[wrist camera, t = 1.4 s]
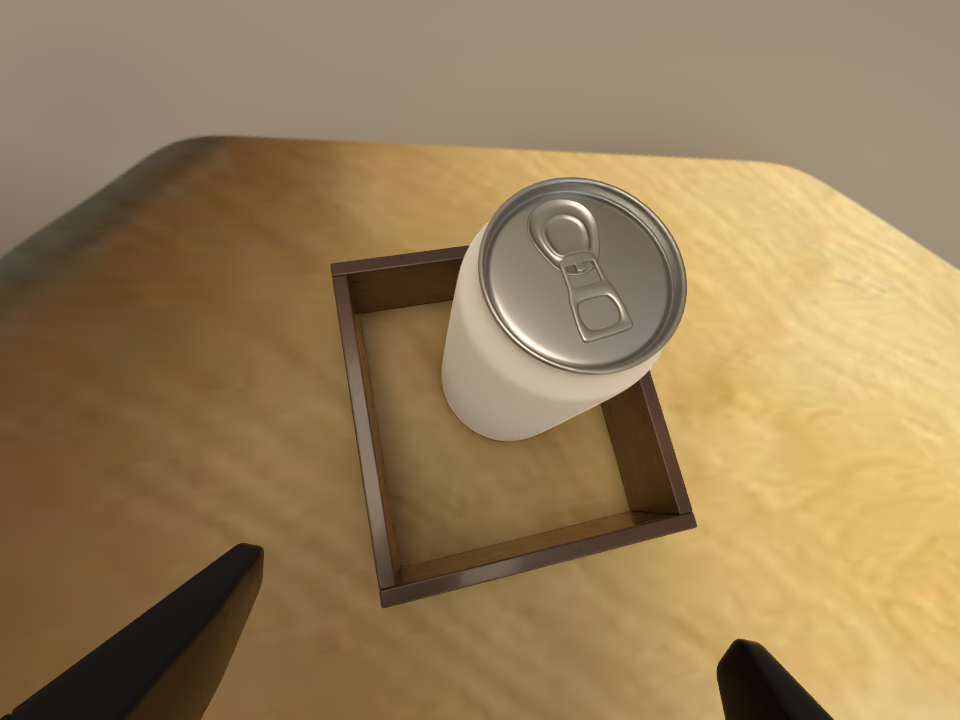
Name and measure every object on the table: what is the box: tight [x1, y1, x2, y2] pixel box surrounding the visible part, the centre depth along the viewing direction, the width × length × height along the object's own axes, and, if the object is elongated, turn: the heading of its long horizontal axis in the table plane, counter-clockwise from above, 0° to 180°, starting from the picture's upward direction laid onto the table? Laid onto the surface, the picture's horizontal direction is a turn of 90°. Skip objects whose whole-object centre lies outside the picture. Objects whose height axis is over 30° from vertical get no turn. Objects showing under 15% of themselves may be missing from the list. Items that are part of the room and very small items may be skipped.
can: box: [441, 177, 687, 441], centre depth 18 cm, size 6×6×12 cm
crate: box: [331, 245, 697, 608], centre depth 21 cm, size 13×12×4 cm
